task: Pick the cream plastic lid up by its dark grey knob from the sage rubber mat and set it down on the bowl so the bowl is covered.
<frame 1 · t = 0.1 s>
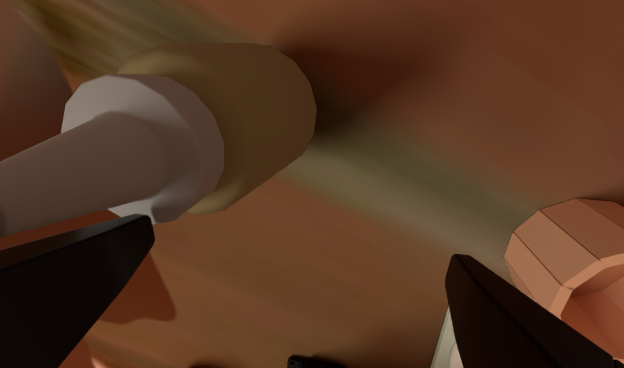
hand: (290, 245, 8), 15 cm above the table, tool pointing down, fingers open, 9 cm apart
mat: (509, 356, 27), on the table
squeeze bottle: (272, 106, 22), on the table, touching gripper
bowl: (570, 252, 22), on the table
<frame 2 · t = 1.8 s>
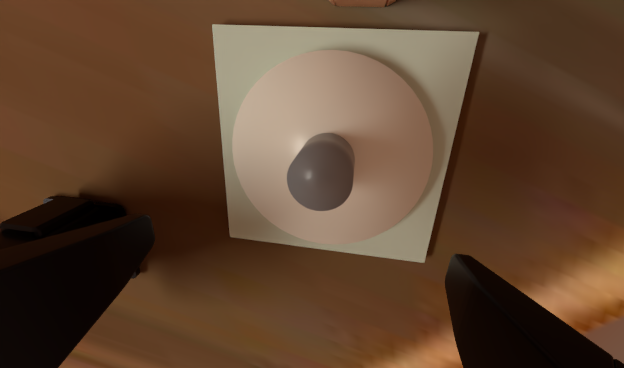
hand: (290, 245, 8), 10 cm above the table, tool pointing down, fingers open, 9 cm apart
mat: (329, 152, 17), on the table
lid: (328, 155, 17), point 1 cm above the table, touching mat
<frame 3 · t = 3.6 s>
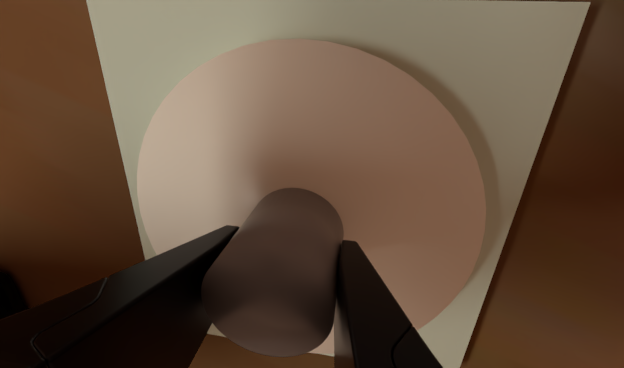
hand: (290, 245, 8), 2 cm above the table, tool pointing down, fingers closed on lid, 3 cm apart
mat: (305, 210, 11), on the table
lid: (301, 218, 10), point 1 cm above the table, touching gripper, mat
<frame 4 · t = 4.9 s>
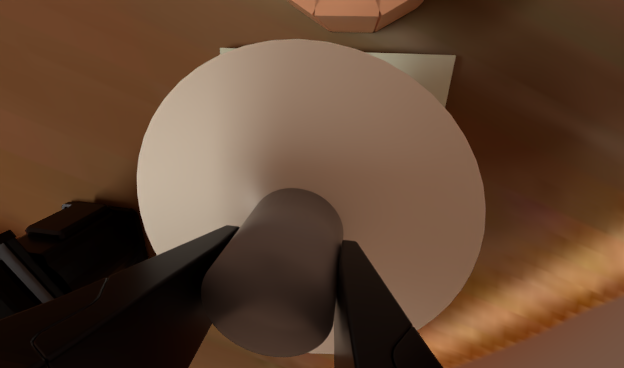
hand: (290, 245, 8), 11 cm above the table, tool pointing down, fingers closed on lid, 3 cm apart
mat: (326, 160, 19), on the table
lid: (301, 218, 10), point 9 cm above the table, touching gripper
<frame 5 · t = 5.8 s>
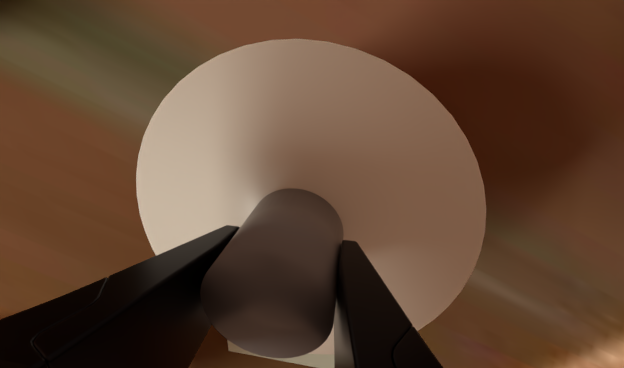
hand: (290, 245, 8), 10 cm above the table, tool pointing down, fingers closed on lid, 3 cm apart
mat: (305, 300, 22), on the table
lid: (301, 219, 10), point 8 cm above the table, touching gripper
when the fingers open (9 cm above the table, at t = 6.6 s): lid stays where it is, resting on bowl.
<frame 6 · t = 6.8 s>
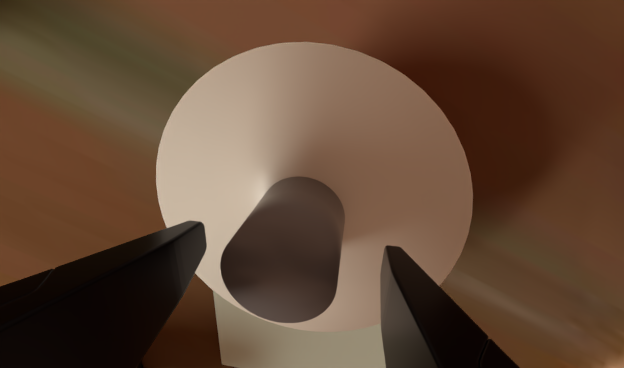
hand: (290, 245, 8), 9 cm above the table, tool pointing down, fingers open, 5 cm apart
mat: (302, 313, 21), on the table
lid: (306, 206, 11), point 6 cm above the table, touching bowl
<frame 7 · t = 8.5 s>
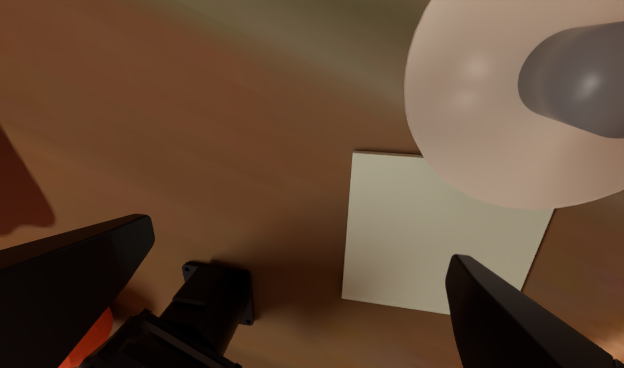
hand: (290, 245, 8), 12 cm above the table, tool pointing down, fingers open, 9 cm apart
mat: (434, 239, 22), on the table
lid: (552, 73, 11), point 6 cm above the table, touching bowl
clementine: (102, 304, 32), on the table
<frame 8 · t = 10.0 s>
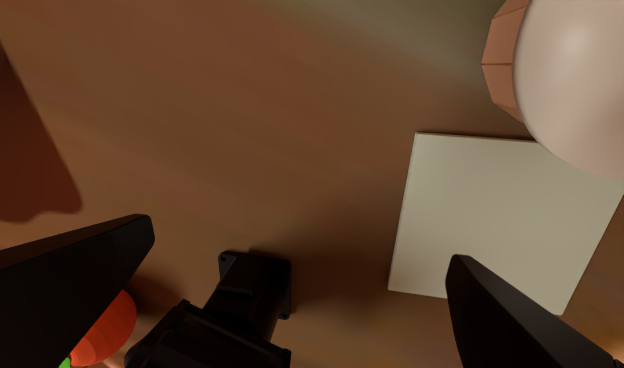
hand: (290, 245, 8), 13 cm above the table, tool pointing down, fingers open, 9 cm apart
mat: (491, 227, 21), on the table
bowl: (572, 44, 16), on the table
clementine: (123, 298, 31), on the table
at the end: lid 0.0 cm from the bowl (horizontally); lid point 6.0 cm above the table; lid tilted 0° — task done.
